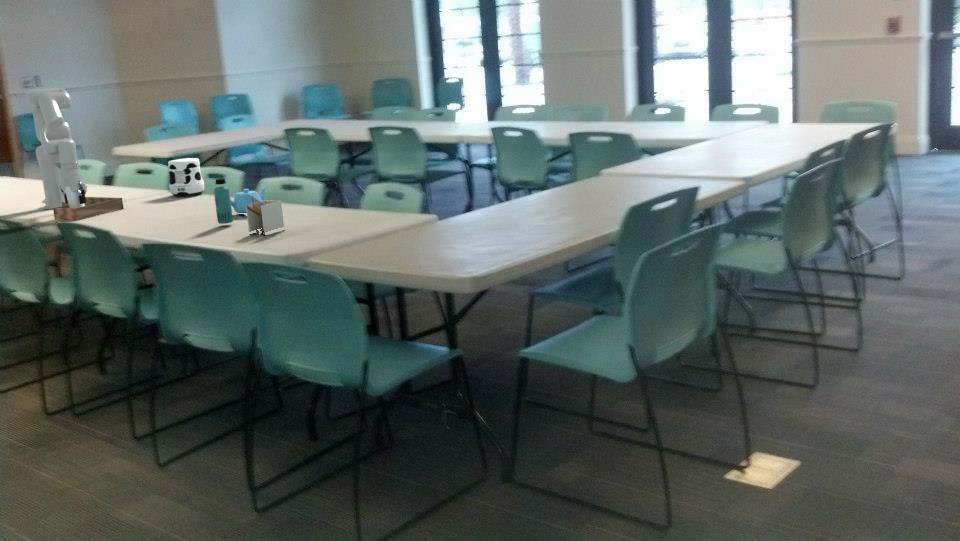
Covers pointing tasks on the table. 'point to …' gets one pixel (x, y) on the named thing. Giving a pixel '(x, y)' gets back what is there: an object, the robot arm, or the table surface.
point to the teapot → (246, 199)
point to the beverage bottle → (223, 203)
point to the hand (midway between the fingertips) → (75, 203)
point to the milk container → (185, 177)
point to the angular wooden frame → (88, 208)
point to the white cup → (73, 198)
